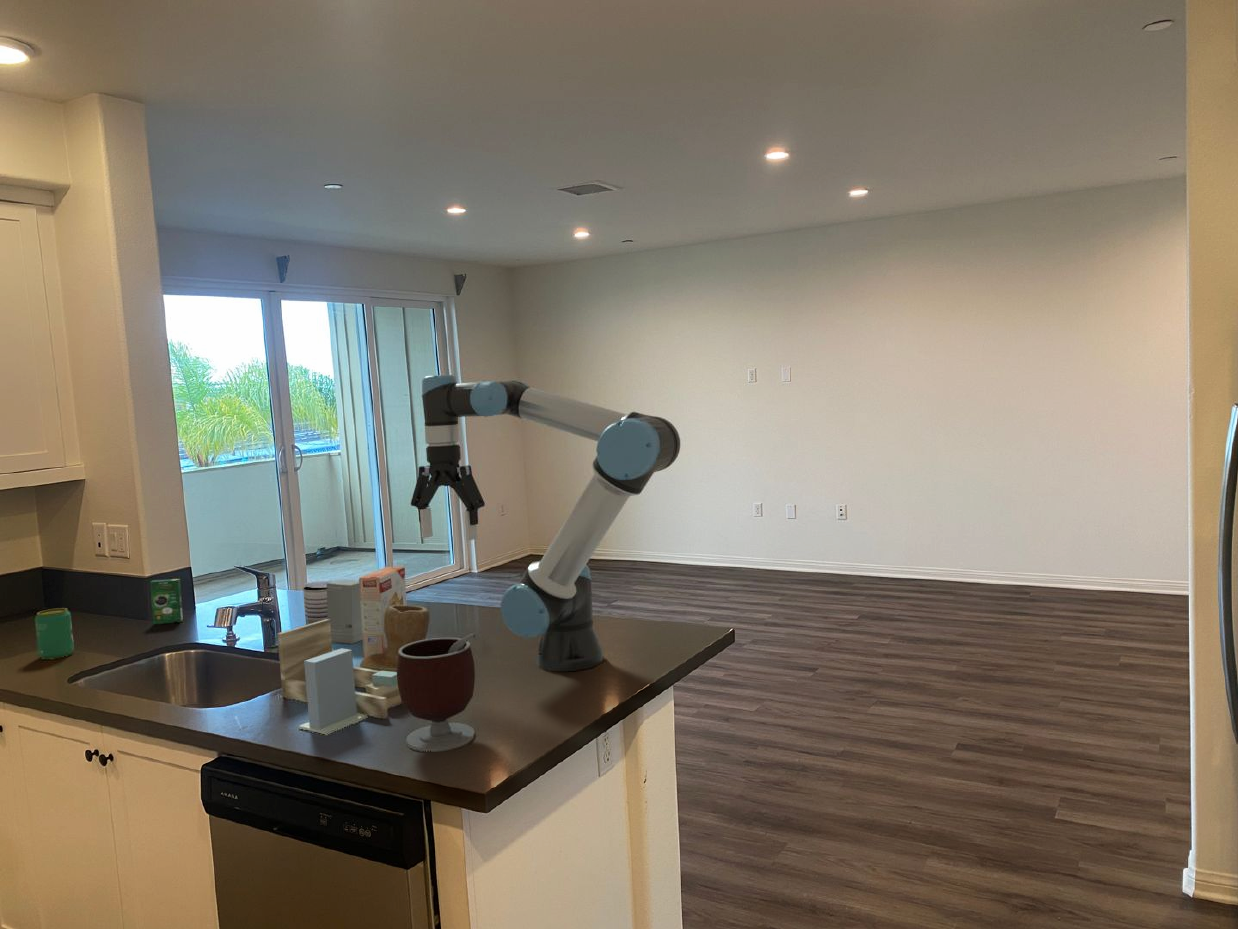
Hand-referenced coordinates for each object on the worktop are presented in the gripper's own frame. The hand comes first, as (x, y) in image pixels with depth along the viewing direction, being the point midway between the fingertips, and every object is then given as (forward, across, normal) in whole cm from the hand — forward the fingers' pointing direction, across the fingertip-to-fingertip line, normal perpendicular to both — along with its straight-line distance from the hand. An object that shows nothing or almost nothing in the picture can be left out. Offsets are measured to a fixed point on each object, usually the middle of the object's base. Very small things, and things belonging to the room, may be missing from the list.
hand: (449, 538), depth 203 cm
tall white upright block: (+30, 0, +36) cm, 47 cm away
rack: (+31, +8, +23) cm, 39 cm away
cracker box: (+31, +26, -3) cm, 40 cm away
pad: (+31, 0, +36) cm, 47 cm away
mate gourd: (+31, -26, +32) cm, 52 cm away
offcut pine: (+29, -1, +23) cm, 37 cm away
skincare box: (+31, +47, -9) cm, 57 cm away
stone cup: (+31, +14, +4) cm, 34 cm away
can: (+31, +68, -19) cm, 77 cm away
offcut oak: (+31, -1, +23) cm, 39 cm away
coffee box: (+31, +117, -1) cm, 121 cm away
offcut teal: (+26, -2, +23) cm, 35 cm away
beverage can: (+31, +112, +33) cm, 121 cm away
